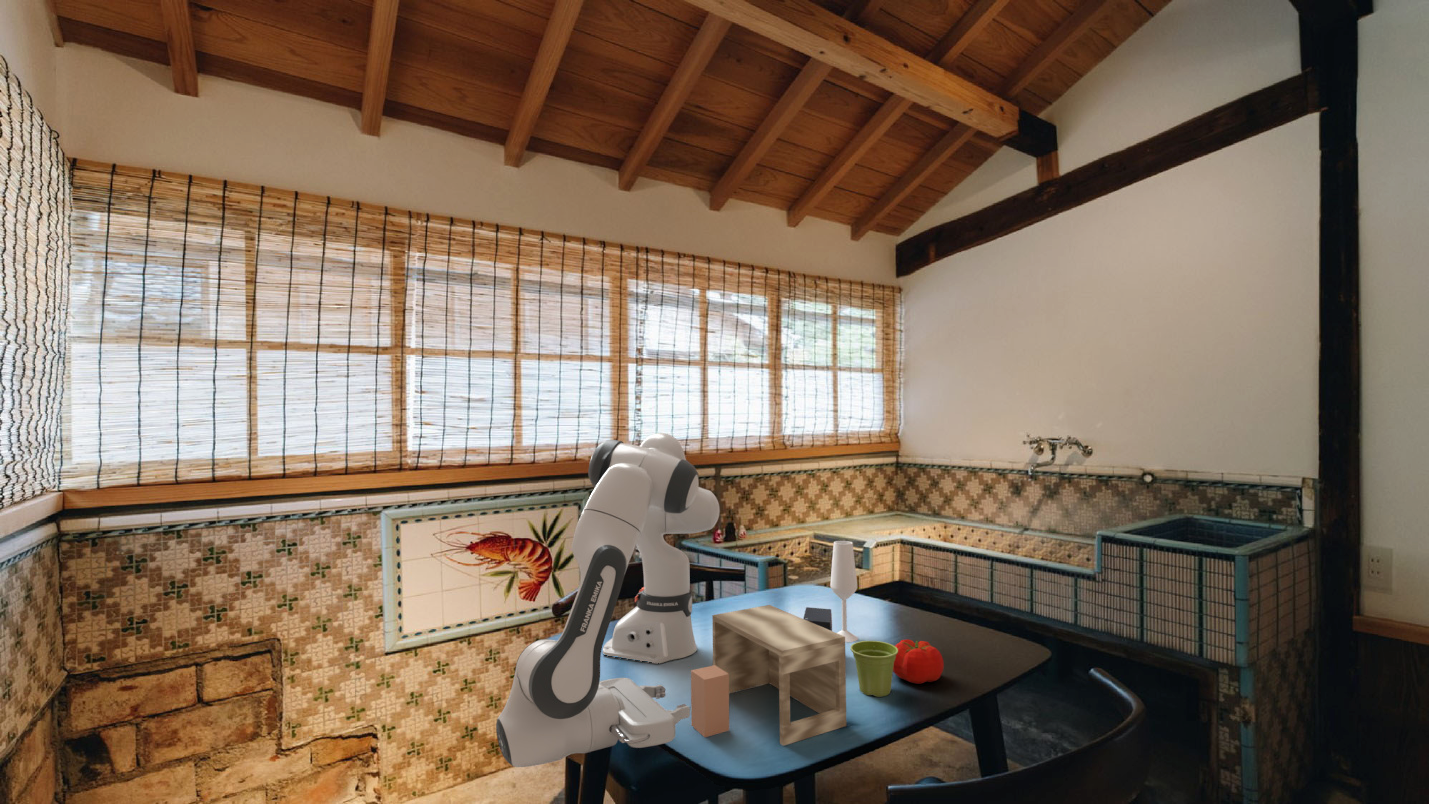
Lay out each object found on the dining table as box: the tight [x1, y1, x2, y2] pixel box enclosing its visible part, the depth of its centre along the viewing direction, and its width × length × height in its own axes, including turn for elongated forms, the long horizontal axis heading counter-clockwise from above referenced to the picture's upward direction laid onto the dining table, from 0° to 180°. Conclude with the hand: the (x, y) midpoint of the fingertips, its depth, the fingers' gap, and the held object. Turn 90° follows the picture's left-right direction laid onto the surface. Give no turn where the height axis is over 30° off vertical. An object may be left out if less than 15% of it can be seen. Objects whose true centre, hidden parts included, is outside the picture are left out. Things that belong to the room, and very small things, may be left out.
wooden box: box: [711, 604, 847, 746], centre depth 126 cm, size 14×24×16 cm, turn 30°
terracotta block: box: [690, 664, 730, 738], centre depth 119 cm, size 5×5×10 cm
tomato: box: [893, 638, 945, 685], centre depth 140 cm, size 11×11×8 cm
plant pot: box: [850, 640, 898, 698], centre depth 134 cm, size 9×9×9 cm
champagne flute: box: [830, 540, 859, 643], centre depth 167 cm, size 7×7×24 cm
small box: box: [802, 606, 833, 631], centre depth 152 cm, size 11×6×10 cm, turn 168°
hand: (675, 700), depth 115 cm, fingers open, 8 cm apart
